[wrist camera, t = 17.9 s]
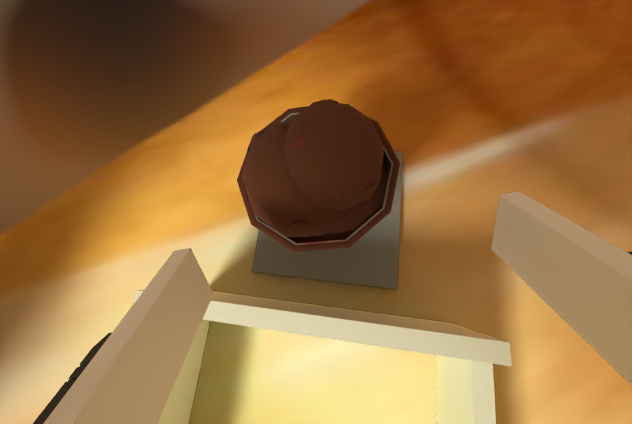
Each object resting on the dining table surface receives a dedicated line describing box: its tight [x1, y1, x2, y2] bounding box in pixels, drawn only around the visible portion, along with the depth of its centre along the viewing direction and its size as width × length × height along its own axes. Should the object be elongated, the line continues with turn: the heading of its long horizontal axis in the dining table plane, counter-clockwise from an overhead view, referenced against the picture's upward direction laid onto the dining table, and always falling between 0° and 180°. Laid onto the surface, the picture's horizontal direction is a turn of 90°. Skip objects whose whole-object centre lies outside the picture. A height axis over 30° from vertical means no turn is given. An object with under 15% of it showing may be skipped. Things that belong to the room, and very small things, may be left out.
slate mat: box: [252, 151, 402, 289], centre depth 27 cm, size 14×14×1 cm
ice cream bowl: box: [237, 99, 400, 252], centre depth 20 cm, size 11×11×15 cm
